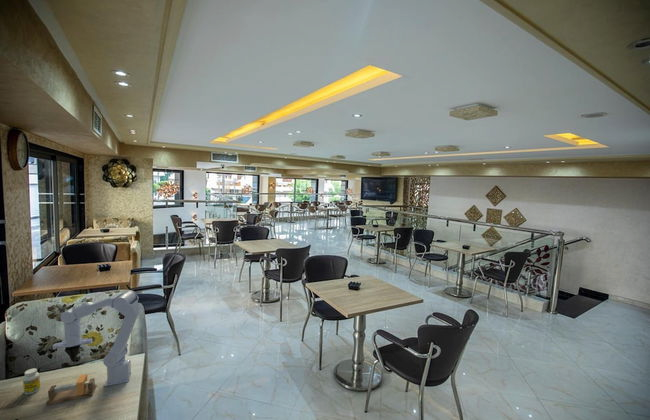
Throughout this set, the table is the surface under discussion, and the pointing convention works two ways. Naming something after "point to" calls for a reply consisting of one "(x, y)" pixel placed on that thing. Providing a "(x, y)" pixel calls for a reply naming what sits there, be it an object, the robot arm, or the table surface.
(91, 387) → the stand
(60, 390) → the rod
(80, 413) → the table surface
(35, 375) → the supplement bottle
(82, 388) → the collar
